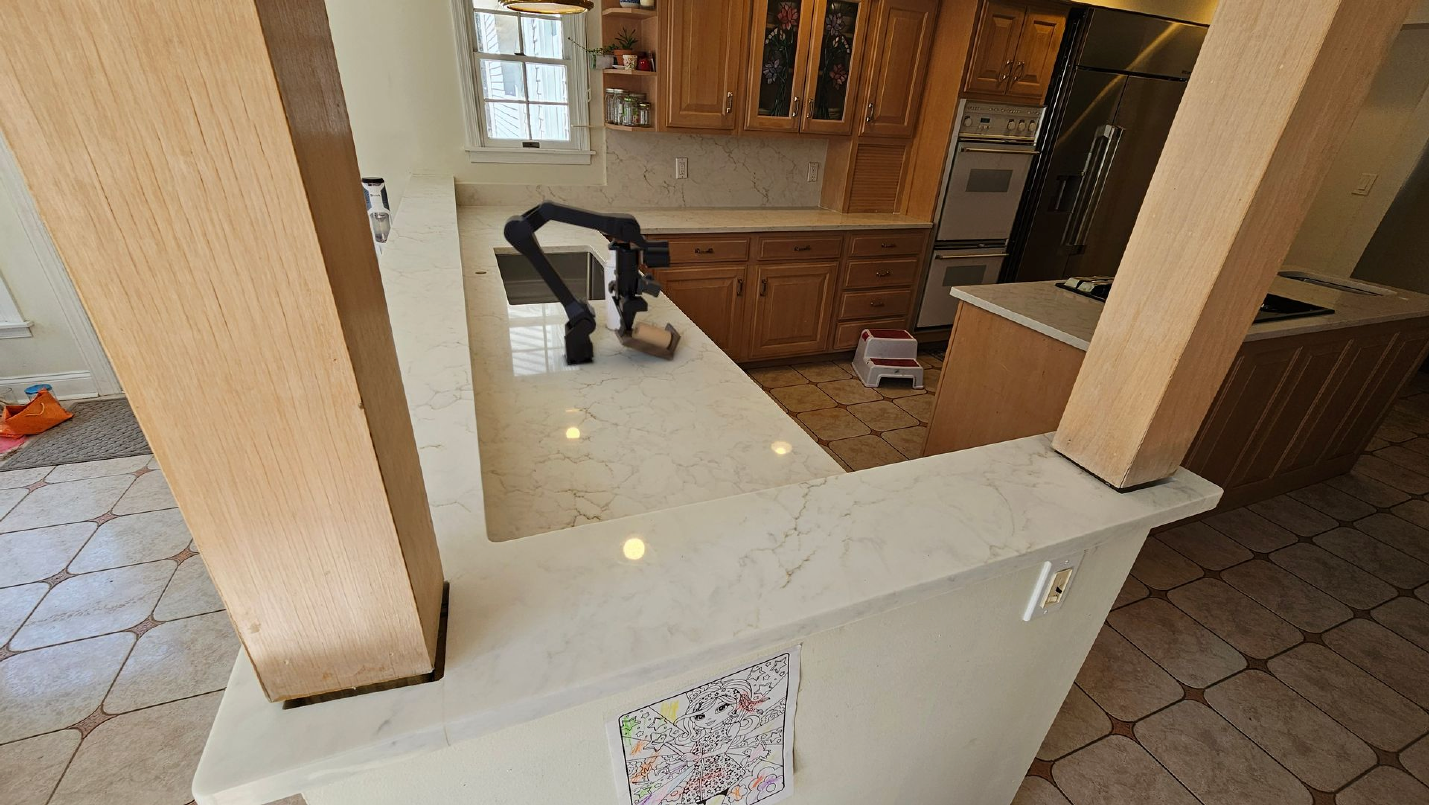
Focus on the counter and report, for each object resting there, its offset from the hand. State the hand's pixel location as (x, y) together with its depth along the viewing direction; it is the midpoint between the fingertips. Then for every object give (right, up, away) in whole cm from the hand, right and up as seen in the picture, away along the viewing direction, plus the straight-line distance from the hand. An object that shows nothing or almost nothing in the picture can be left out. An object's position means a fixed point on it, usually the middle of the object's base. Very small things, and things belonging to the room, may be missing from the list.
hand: (627, 327), depth 157 cm
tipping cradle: (+3, -4, +3) cm, 6 cm away
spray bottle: (-6, +3, +24) cm, 25 cm away
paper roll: (+6, -2, +3) cm, 7 cm away
